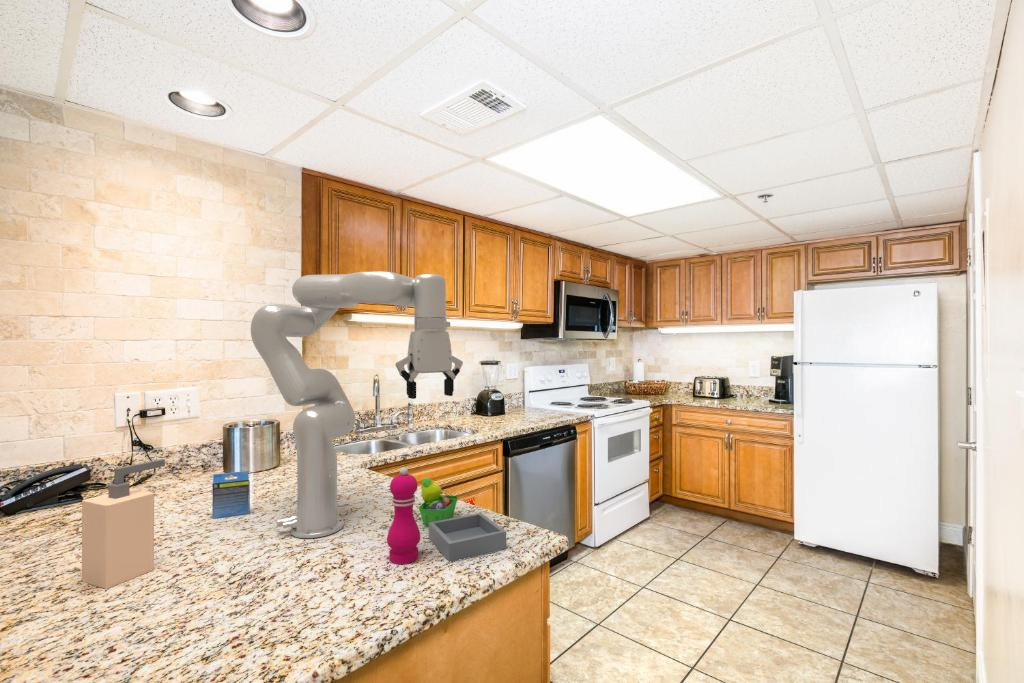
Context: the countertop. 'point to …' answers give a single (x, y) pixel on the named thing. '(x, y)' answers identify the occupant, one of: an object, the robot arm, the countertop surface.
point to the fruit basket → (435, 503)
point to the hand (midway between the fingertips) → (430, 396)
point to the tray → (466, 536)
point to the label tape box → (230, 494)
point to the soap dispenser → (118, 531)
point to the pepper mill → (403, 520)
